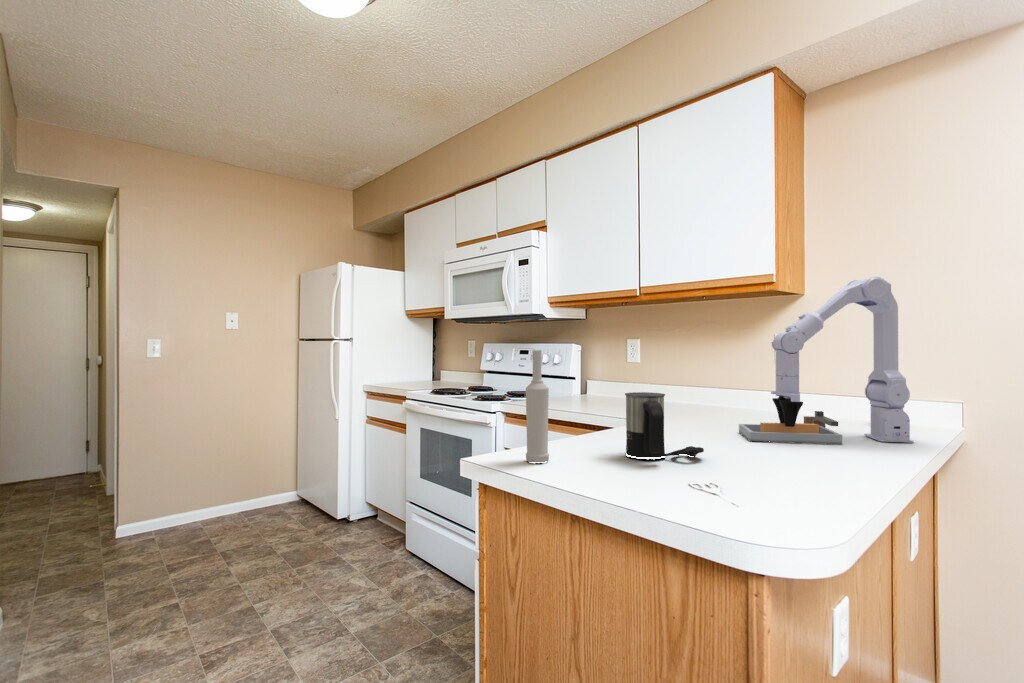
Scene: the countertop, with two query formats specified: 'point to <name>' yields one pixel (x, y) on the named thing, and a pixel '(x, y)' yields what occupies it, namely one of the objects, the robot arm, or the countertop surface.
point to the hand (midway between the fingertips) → (787, 425)
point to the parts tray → (789, 435)
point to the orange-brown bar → (789, 428)
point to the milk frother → (648, 426)
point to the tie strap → (825, 419)
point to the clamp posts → (812, 421)
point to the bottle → (537, 414)
